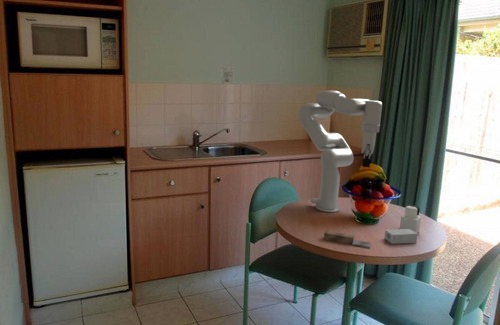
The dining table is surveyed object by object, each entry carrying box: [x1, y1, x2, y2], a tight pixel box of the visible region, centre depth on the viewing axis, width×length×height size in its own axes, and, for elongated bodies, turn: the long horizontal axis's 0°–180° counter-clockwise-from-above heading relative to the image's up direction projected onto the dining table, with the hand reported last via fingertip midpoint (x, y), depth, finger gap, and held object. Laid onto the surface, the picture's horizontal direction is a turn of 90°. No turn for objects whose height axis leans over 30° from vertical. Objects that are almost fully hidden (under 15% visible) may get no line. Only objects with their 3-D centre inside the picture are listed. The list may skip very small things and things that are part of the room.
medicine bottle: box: [399, 204, 422, 234], centre depth 193 cm, size 7×7×12 cm
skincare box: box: [384, 228, 418, 245], centre depth 182 cm, size 6×4×12 cm
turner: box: [323, 230, 372, 250], centre depth 177 cm, size 19×5×3 cm, turn 71°
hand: (366, 165), depth 196 cm, fingers open, 9 cm apart
